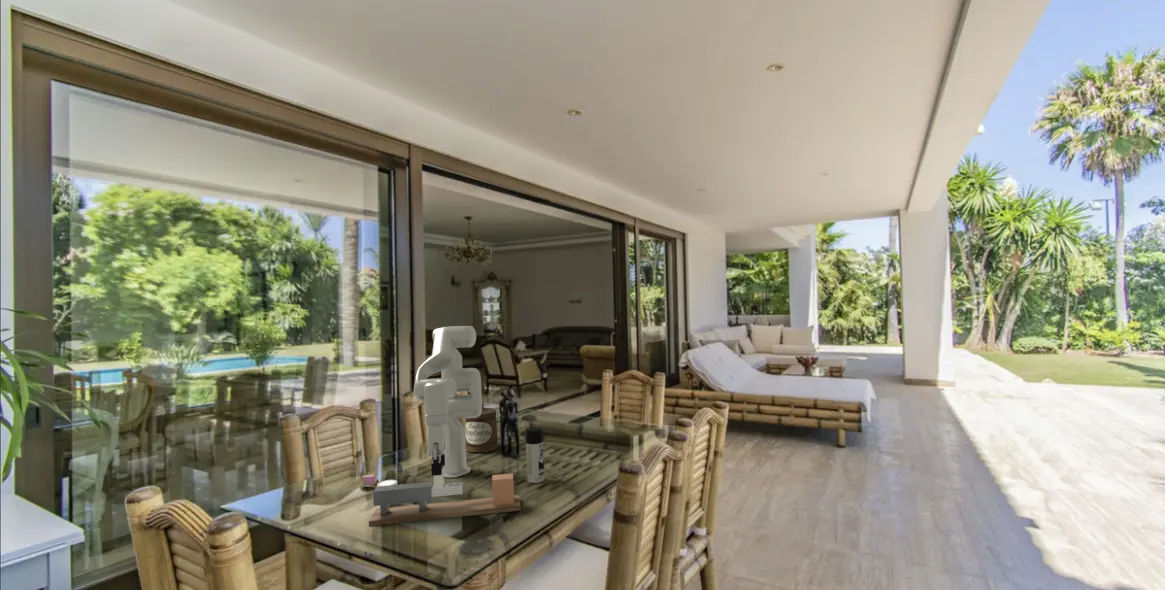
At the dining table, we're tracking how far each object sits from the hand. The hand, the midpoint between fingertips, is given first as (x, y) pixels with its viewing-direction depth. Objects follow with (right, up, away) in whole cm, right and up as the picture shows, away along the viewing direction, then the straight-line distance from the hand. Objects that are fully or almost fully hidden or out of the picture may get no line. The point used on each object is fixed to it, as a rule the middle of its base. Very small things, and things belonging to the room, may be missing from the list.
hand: (438, 470), depth 172 cm
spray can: (+30, -13, +28) cm, 43 cm away
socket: (+21, -12, +4) cm, 24 cm away
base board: (+3, -14, +1) cm, 14 cm away
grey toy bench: (-11, -13, -1) cm, 17 cm away
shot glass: (-21, -15, +11) cm, 28 cm away
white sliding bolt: (-6, -8, -1) cm, 10 cm away
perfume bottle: (-32, -16, +29) cm, 46 cm away
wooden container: (0, -15, +73) cm, 75 cm away
